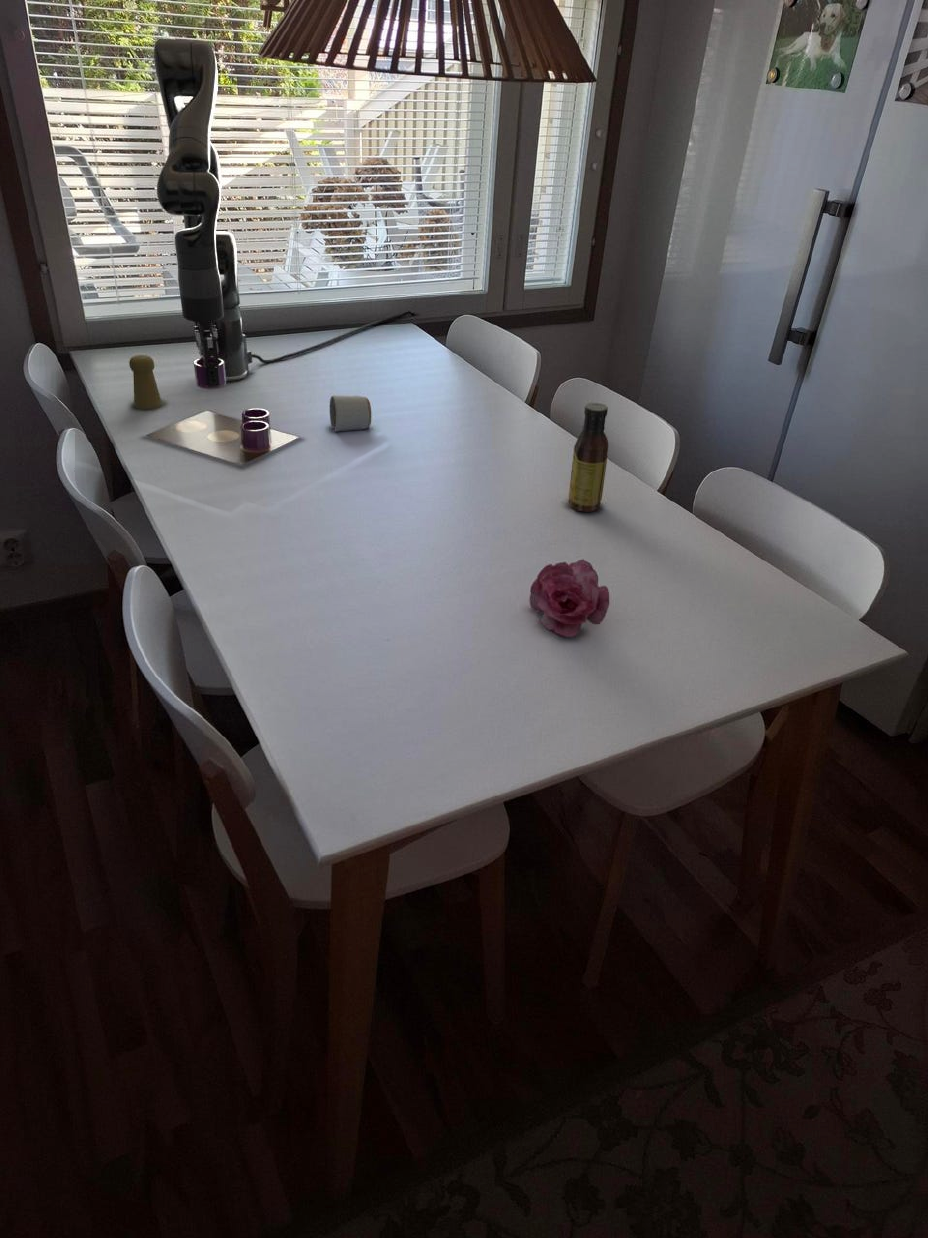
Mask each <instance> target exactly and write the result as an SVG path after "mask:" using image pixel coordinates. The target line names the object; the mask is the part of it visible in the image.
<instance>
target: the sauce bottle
mask: <svg viewBox="0 0 928 1238" xmlns="http://www.w3.org/2000/svg"><path fill="white" fill-rule="evenodd" d="M608 409H609V408H608V406H607V405H606V404H605V403H601V402H588V403H586V404H585V406H584V410H583V411H584V412H583V413H584V421H583V426H582V430H581V432H580V433H579V436H578V437H577V440H576V442H575V444H574V446H573V454H572V464H571V473H570V481H569V490H568V491H569V492H568V504H569V507H571V508H572V509H573V510H576V511H578V512H583V513H590V512H594V511H595V512H596V511H598V509H600V507H601V502H602V500H603V493H604V488H605V487H604V486H605V479H606V472H607V471H606V470H607V463H608V452H609V440H608V436H607V435H606V433H605V429H606V427H605V425H606V417H607V415H608Z"/></svg>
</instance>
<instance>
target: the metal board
mask: <svg viewBox="0 0 928 1238" xmlns="http://www.w3.org/2000/svg"><path fill="white" fill-rule="evenodd" d="M241 424H242V419H241V420H240V419H237V418H233V417H231V416H228V415H227V416H226V415H223V414H219V413H216V412H212V411H210V410H205V411H203V412H201V413H197V414H196V415H193V416H190V417H188V418H185V419H183V420H180V421H178V422H176V423H172V424H170V425H168V426H165V427H163V428H160V429H159V430H155V431H153V432H150V433H148V434H146V435H145V436H146V437H150V438H153V439H156V440H158V441H159V440H160V441H161V442H162V441H163V442H166V443H169V444H172V445H174V446H178V447H181V448H186V449H188V450H191V451H195V452H198V453H201V454H204V455H207V456H210V457H214V458H217V459H220V460H223V461H226V462H230V463H233V464H236V465H239V466H243V465H246V464H248V463H249V462H252V461H254V460H256V459H258V458H260V457H262V456H265V455H266V454H269V453H270V452H273V451H274V450H276V449H279V448H280V447H282V446H284V445H287V444H289V443H291V442H293V441H295V440H298V439H299V438H300V437H299V436H297V435H293V434H288V433H285V432H282V431H279V430H275V429H272V428H271V430H270V431H271V433H270V447H269V448H268V449H266V450H263V451H248V450H245V449H244V448H243V447H242V440H241V430H240V426H241Z"/></svg>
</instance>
